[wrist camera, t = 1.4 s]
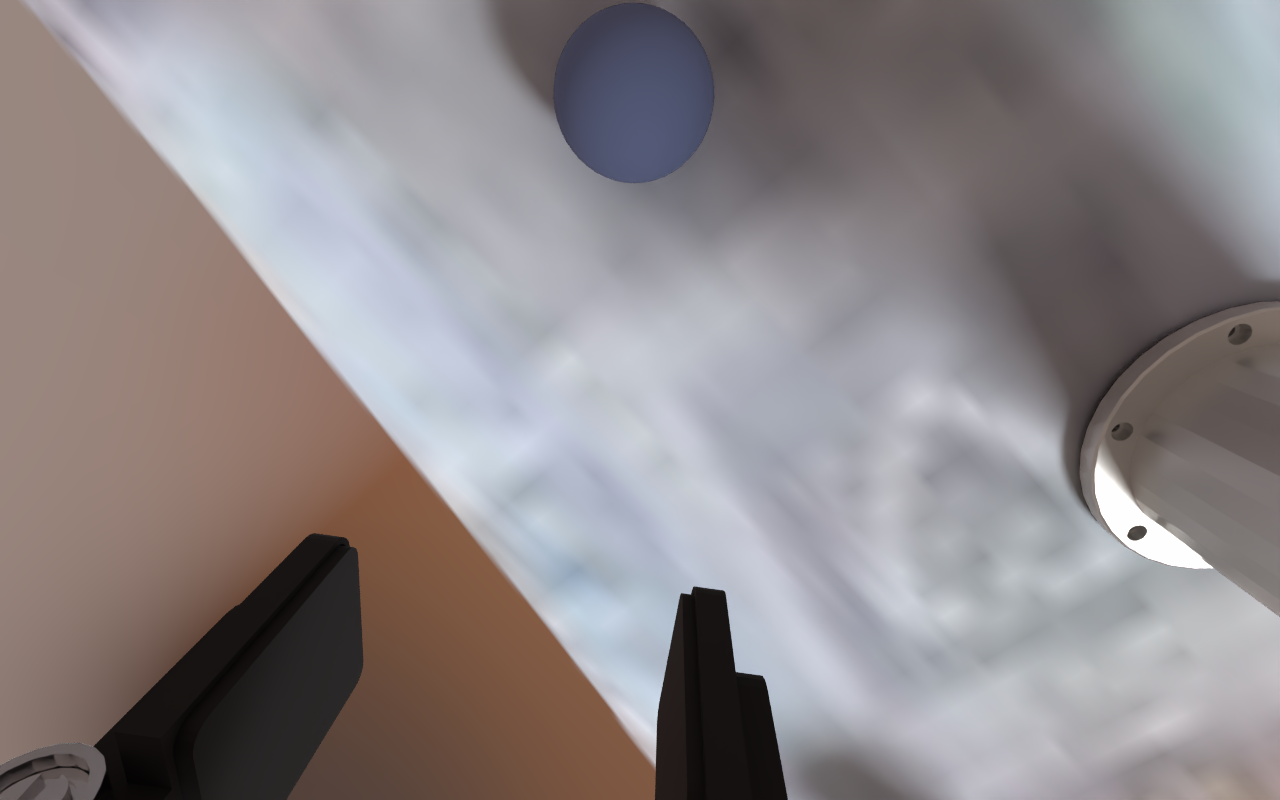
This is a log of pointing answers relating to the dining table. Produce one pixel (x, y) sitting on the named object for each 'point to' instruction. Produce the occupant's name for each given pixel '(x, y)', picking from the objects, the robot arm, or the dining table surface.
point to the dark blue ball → (633, 92)
